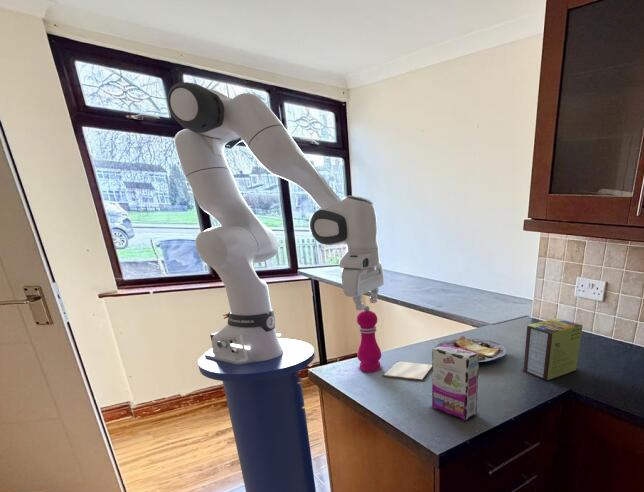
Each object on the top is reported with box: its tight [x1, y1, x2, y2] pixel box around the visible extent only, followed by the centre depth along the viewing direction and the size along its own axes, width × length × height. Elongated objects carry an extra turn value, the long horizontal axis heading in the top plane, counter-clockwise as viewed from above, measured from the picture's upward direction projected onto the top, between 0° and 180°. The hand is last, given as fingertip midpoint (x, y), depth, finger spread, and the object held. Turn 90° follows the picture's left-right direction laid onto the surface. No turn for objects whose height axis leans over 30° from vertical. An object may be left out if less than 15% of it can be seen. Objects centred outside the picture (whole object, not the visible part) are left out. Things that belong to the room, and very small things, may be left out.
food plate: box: [435, 335, 507, 363], centre depth 142 cm, size 25×23×4 cm
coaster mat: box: [383, 360, 432, 381], centre depth 127 cm, size 12×12×1 cm
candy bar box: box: [431, 344, 480, 421], centre depth 101 cm, size 11×5×16 cm, turn 55°
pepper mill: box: [356, 305, 382, 373], centre depth 124 cm, size 7×7×20 cm
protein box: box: [522, 317, 584, 381], centre depth 130 cm, size 10×15×16 cm
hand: (367, 306), depth 120 cm, fingers open, 8 cm apart
